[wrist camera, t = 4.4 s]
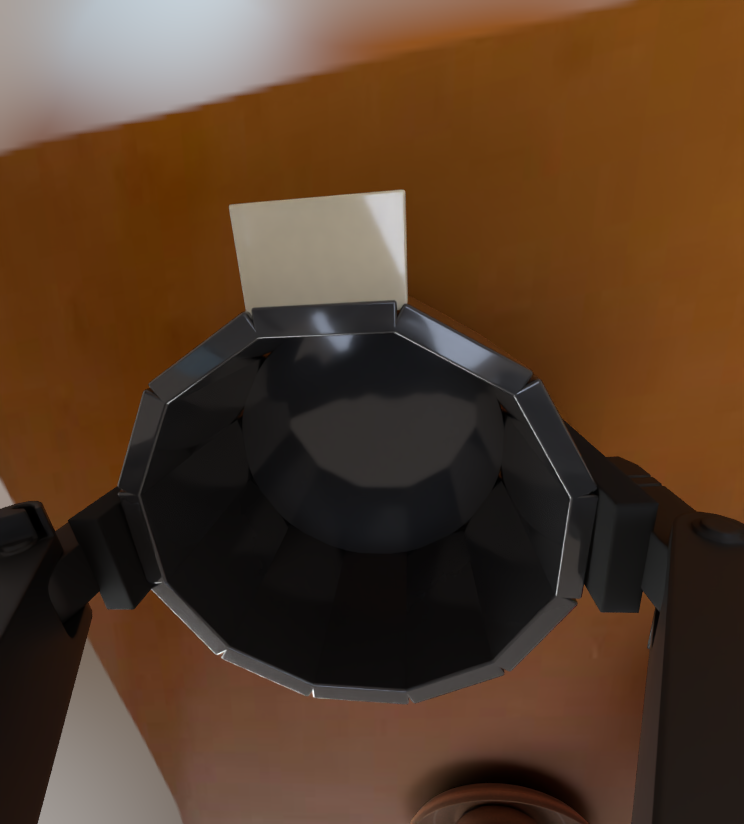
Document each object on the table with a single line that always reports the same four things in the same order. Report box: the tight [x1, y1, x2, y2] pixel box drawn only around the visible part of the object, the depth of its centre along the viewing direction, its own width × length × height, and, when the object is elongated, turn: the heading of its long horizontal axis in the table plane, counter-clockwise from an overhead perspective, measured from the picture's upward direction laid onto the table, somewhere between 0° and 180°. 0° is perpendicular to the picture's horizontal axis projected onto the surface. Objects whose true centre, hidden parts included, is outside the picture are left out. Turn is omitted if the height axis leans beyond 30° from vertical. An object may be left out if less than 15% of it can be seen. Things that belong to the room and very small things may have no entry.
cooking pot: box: [118, 189, 599, 704], centre depth 11 cm, size 13×11×6 cm
